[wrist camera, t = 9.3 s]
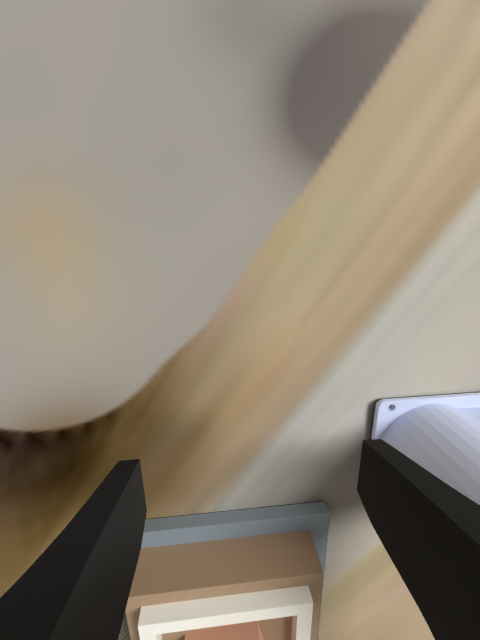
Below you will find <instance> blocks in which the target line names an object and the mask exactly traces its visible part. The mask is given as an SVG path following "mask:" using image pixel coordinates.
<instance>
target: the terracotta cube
mask: <svg viewBox="0 0 480 640" xmlns="http://www.w3.org/2000/svg"><path fill="white" fill-rule="evenodd" d="M185 640H264V639H263V635H262V632H261V629H260V625H259V622H258V621H252V622H245V623H237V624H230V625H223V626H216V627H209V628H205V629H202V630H198V631H194V632H191V633H187V634H185Z"/></svg>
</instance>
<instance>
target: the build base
mask: <svg viewBox="0 0 480 640" xmlns="http://www.w3.org/2000/svg"><path fill="white" fill-rule="evenodd" d="M329 515H330V512H329V510H328V508H327V505H326V503H325V501H321V502H312V503H302V504H292V505H282V506H272V507H263V508H253V509H243V510H233V511H224V512H214V513H204V514H194V515H184V516H175V517H165V518H155V519H145V526H144V532H143V539H142V545H141V550H140V554H139V558H138V562H137V566H136V570H135V574H134V578H133V582H132V586H131V590H130V594H129V598H128V602H127V606H126V610H125V617H126V622H127V627H128V633H129V638H130V640H185V634H187V633H191V632H194V631H198V630H202V629H205V628H209V627H216V626H223V625H230V624H237V623H245V622H252V621H258V622H259V625H260V629H261V632H262V635H263V639H264V640H318V631H319V621H320V610H321V599H322V589H323V578H324V568H325V557H326V547H327V536H328V525H329Z"/></svg>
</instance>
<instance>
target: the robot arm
mask: <svg viewBox="0 0 480 640" xmlns="http://www.w3.org/2000/svg"><path fill="white" fill-rule="evenodd" d="M390 405H392V406H391V407H389V406H390ZM357 491H358V493H359V496H360V498H361V500H362V503H363V505H364V508H365V510H366V512H367V514H368V517H369V519H370V521H371V523H372V525H373V527H374V529H375V531H376V533H377V534H378V536H379V538H380V540H381V542H382V543H383V545H384V547H385V549H386V551H387V552H388V554H389V556H390V558H391V559H392V561H393V563H394V565H395V566H396V568H397V570H398V572H399V574H400V575H401V577H402V579H403V581H404V582H405V584H406V586H407V588H408V589H409V591H410V593H411V595H412V596H413V598H414V600H415V602H416V604H417V605H418V607H419V609H420V611H421V613H422V615H423V616H424V618H425V620H426V622H427V624H428V626H429V628H430V630H431V632H432V634H433V636H434V638H435V640H480V392H477V393H463V394H449V395H435V396H421V397H407V398H393V399H382V400H380V401H378V402H377V403H376V407H375V414H374V422H373V429H372V436H371V440H363V446H362V454H361V462H360V470H359V478H358V486H357ZM146 512H147V509H146V502H145V495H144V487H143V480H142V473H141V466H140V459H136V460H124V461H119V462H118V463H117V464H116V465H115V466H114V468H113V469H112V470H111V471H110V473H109V474H108V475H107V477H106V478H105V479H104V480H103V482H102V483H101V484H100V486H99V487H98V488H97V489H96V491H95V492H94V493H93V494H92V496H91V497H90V498H89V499H88V501H87V502H86V503H85V504H84V506H83V507H82V508H81V509H80V510H79V512H78V513H77V514H76V515H75V516H74V518H73V519H72V520H71V521H70V523H69V524H68V525H67V526H66V527H65V529H64V530H63V531H62V532H61V533H60V534H59V535H58V537H57V538H56V539H55V540H54V541H53V542H52V543H51V544H50V546H49V547H48V548H47V549H46V550H45V551H44V552H43V553H42V554H41V556H40V557H39V558H38V559H37V560H36V561H35V562H34V563H33V565H32V566H31V567H30V568H29V569H28V570H27V571H26V572H25V573H24V574H23V575H22V576H21V577H20V578H19V579H18V580H17V581H16V583H15V584H14V585H13V586H12V587H11V588H10V589H9V590H8V591H7V592H6V593H5V594H4V595H3V596H2V597H1V598H0V640H118V637H119V633H120V629H121V625H122V621H123V617H124V613H125V610H126V606H127V602H128V598H129V594H130V590H131V586H132V582H133V578H134V574H135V570H136V566H137V562H138V558H139V554H140V550H141V545H142V539H143V532H144V526H145V519H146Z"/></svg>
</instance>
